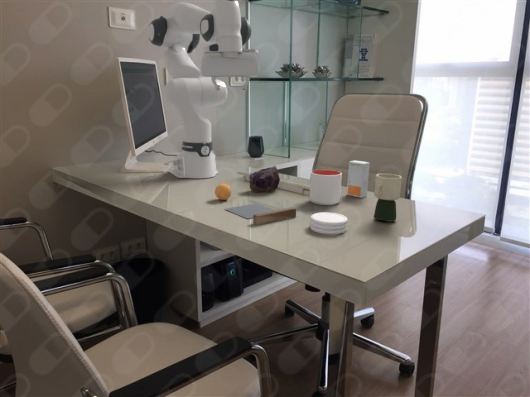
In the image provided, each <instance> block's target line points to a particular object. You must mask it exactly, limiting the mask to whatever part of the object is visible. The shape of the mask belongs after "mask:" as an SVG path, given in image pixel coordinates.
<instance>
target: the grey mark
mask: <svg viewBox="0 0 530 397" xmlns="http://www.w3.org/2000/svg"><path fill="white" fill-rule="evenodd" d="M225 209H226V210H225V211H227V210H228V211H227V212H229V211H230V212H229V213H232V214H234V215H236V214H237V216H238V217H241V216H242V217H241V218H244V217H245V218H244V219H246V218H247V220H249V219H250V220H251V219H253V215H254V214H259V213H264V212H269V211H274V210H275V209H273V208H270V207H268V206H264V205H263V204H260V203H256V202H254V203H250V204H249V203H248V204H244V205H240V206H232V207H228V208H225Z"/></svg>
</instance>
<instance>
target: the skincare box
mask: <svg viewBox="0 0 530 397" xmlns="http://www.w3.org/2000/svg"><path fill="white" fill-rule="evenodd" d="M370 164H371V163H370V162H368V161H362V160H350V161H348V169H347V170H348V172H347V183H346V186H347V187H346V196H347V195H348V196H353V197H356V198H360V199H361V198H365V197H367V195H368V190H369V189H368V187H369V176H370V175H369V174H370Z"/></svg>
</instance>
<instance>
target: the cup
mask: <svg viewBox="0 0 530 397" xmlns="http://www.w3.org/2000/svg"><path fill="white" fill-rule="evenodd" d="M342 177H343V173H342V172H341V171H338V170H334V169H314V170H311V171H310V180H309V181H310V182H309V183H310V184H309V200H310V202H311V203H313V204H315V205H320V206H333V205H336V204H338V203H340V201H341V195H342V193H341V192H342V181H343V180H342V179H343V178H342Z"/></svg>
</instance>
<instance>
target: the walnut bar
mask: <svg viewBox="0 0 530 397" xmlns="http://www.w3.org/2000/svg"><path fill="white" fill-rule="evenodd" d="M296 217H297V208H296V207H294V206H289V207H284V208H279V209H274V211H269V212H264V213H259V214H254V215H253V218H252V219H253V220H252V223H253V225H256V226H260V225H259V224H261V225H264V223H265V224H270V223H273V222H274V223H275V222H278V221H282V220H287V219H291V218H296ZM269 222H270V223H269Z"/></svg>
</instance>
